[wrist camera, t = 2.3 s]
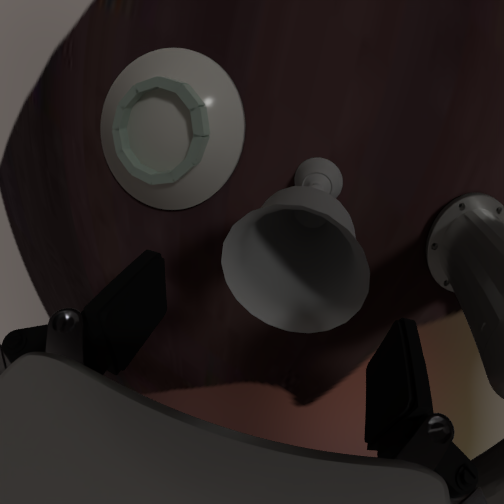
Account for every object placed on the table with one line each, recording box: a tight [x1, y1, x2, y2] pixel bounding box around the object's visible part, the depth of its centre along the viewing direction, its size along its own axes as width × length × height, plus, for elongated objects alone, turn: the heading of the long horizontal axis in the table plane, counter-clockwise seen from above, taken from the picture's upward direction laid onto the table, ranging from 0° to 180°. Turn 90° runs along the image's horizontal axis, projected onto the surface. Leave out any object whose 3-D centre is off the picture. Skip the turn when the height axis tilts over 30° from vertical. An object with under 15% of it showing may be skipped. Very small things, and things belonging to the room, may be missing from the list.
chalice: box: [221, 158, 370, 333], centre depth 21 cm, size 7×7×18 cm
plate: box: [101, 48, 246, 210], centre depth 29 cm, size 20×20×2 cm
